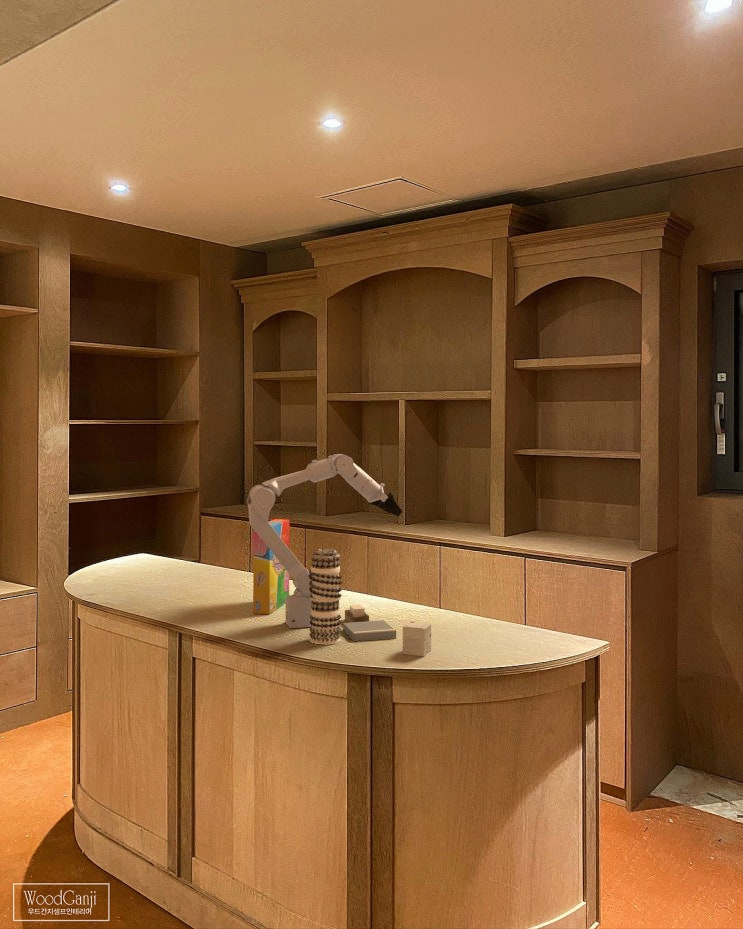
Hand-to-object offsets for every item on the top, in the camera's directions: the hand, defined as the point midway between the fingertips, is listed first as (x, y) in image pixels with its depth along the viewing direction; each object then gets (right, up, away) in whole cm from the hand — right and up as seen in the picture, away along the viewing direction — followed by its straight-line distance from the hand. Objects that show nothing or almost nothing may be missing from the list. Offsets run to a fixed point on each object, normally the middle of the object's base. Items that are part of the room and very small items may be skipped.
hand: (396, 512), depth 243 cm
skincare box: (+4, -35, -33) cm, 48 cm away
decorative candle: (-20, -34, -23) cm, 46 cm away
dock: (-8, -33, -16) cm, 38 cm away
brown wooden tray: (-12, -33, -4) cm, 35 cm away
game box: (-39, -31, +15) cm, 53 cm away
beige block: (-12, -31, -4) cm, 33 cm away
